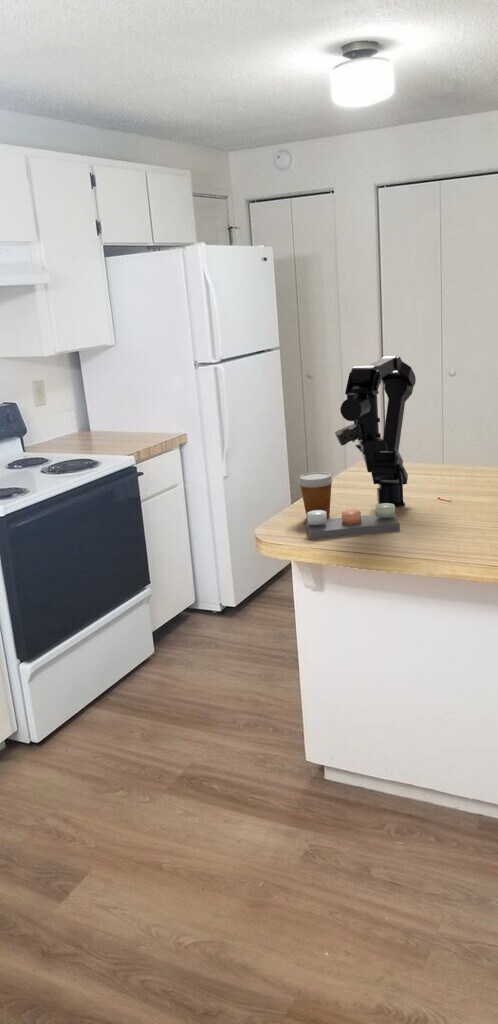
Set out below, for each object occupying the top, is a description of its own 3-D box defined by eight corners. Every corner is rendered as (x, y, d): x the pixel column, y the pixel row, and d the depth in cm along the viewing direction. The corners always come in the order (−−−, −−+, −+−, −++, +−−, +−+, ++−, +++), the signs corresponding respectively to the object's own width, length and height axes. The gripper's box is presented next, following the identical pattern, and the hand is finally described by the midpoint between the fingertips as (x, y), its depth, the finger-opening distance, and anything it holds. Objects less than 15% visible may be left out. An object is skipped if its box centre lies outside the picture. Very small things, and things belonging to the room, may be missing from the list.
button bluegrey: (325, 518, 218) (324, 509, 217) (328, 523, 213) (327, 514, 212) (306, 520, 218) (305, 511, 217) (309, 525, 213) (308, 516, 212)
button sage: (392, 511, 218) (392, 502, 218) (397, 516, 213) (396, 507, 213) (374, 513, 218) (373, 504, 217) (378, 518, 213) (377, 509, 213)
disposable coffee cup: (325, 523, 223) (322, 481, 220) (294, 521, 228) (291, 479, 225) (341, 514, 231) (338, 472, 228) (311, 511, 236) (308, 470, 233)
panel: (391, 519, 222) (390, 512, 221) (399, 530, 212) (399, 523, 211) (306, 528, 221) (305, 521, 220) (311, 539, 211) (310, 532, 211)
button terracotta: (359, 518, 218) (358, 509, 218) (362, 523, 213) (362, 514, 213) (340, 520, 218) (340, 511, 217) (343, 525, 213) (343, 516, 213)
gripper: (331, 411, 225) (334, 467, 229) (342, 422, 207) (346, 483, 211) (371, 407, 226) (374, 463, 230) (386, 418, 208) (389, 478, 212)
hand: (369, 471), depth 221 cm, fingers closed
